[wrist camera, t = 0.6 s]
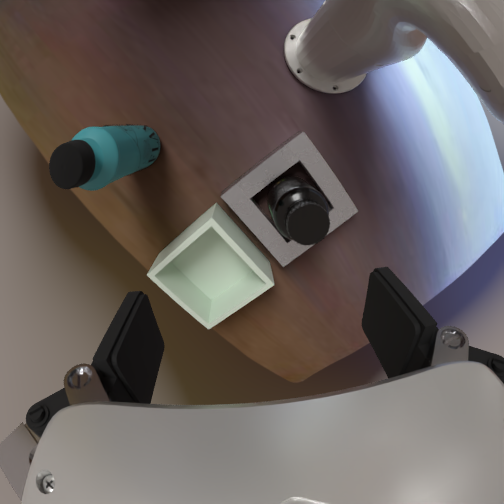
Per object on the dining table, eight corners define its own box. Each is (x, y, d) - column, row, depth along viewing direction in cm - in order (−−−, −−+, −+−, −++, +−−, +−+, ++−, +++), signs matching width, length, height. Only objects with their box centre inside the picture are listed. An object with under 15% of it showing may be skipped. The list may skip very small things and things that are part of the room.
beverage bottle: (166, 164, 36) (103, 200, 18) (125, 170, 36) (44, 210, 18) (163, 120, 33) (93, 117, 15) (121, 128, 33) (33, 138, 15)
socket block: (298, 131, 35) (303, 131, 32) (350, 205, 40) (358, 211, 37) (222, 191, 38) (220, 196, 36) (280, 258, 43) (283, 267, 41)
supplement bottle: (262, 214, 40) (270, 248, 29) (272, 170, 37) (286, 187, 26) (305, 223, 41) (328, 259, 30) (317, 180, 38) (347, 202, 27)
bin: (216, 202, 39) (211, 217, 33) (269, 261, 43) (274, 284, 37) (159, 253, 42) (146, 275, 36) (212, 303, 47) (208, 329, 40)
